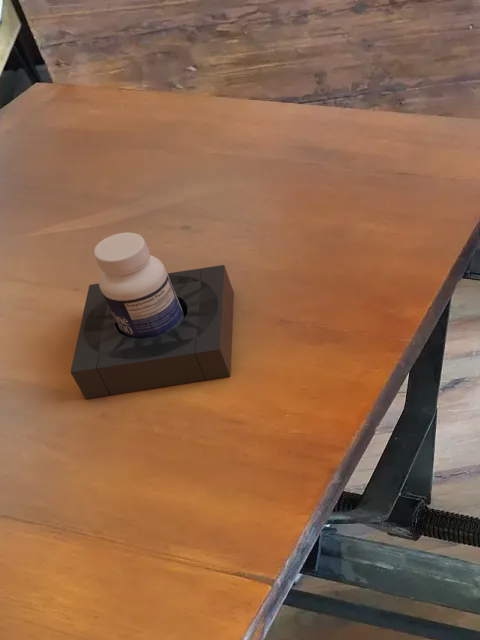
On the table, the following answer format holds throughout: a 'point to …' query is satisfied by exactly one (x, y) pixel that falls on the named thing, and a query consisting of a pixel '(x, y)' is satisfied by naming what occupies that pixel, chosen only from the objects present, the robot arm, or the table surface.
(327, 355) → the table surface
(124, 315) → the pill bottle
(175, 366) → the socket plate
